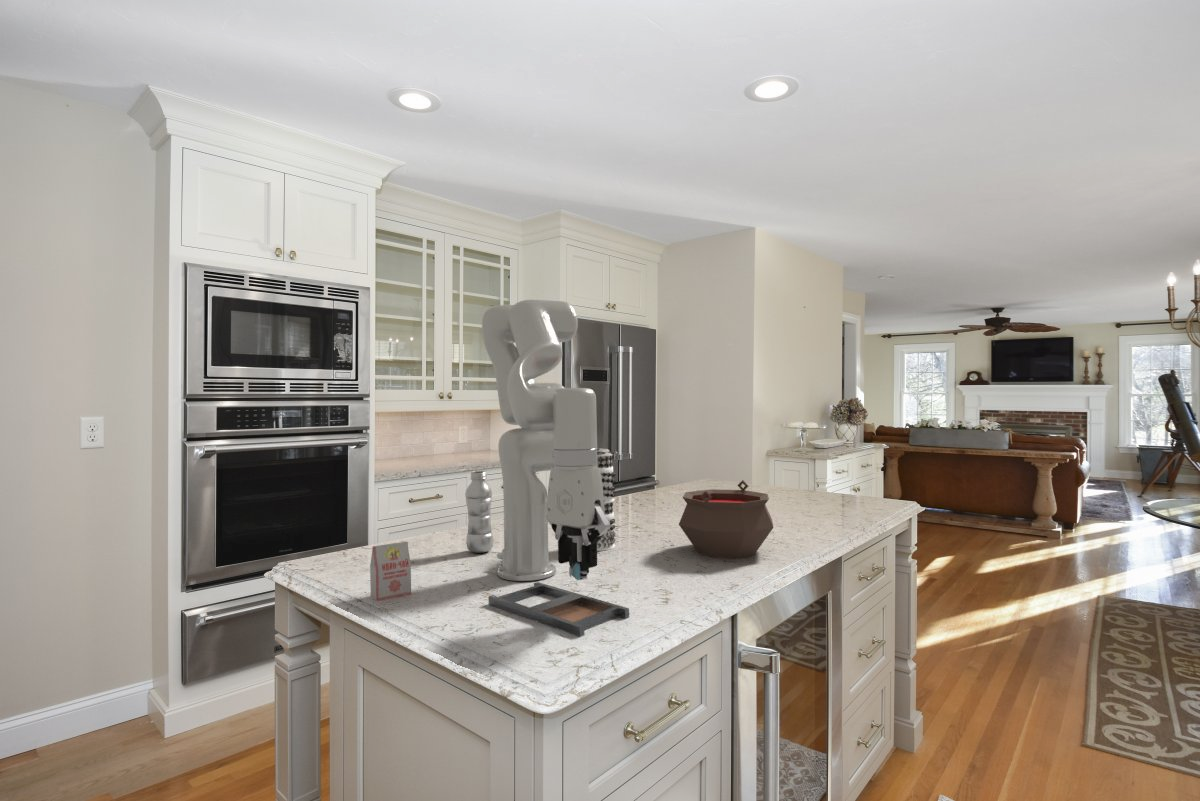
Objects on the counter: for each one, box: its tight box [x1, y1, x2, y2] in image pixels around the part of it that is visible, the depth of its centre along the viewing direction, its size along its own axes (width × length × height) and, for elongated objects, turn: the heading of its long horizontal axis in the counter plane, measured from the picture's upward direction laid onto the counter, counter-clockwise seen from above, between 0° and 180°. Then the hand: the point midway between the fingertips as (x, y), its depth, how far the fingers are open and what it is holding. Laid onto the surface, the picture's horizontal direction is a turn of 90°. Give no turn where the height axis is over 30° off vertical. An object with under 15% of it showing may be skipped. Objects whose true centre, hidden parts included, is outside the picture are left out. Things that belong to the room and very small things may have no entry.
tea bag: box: [369, 541, 412, 602], centre depth 124 cm, size 4×7×10 cm, turn 126°
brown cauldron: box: [678, 479, 774, 559], centre depth 155 cm, size 24×24×16 cm
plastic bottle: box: [464, 470, 495, 554], centre depth 157 cm, size 6×7×20 cm
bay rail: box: [487, 581, 630, 638], centre depth 113 cm, size 24×12×2 cm, turn 47°
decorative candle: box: [583, 447, 617, 552], centre depth 161 cm, size 9×9×25 cm
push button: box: [562, 526, 591, 581], centre depth 109 cm, size 7×5×10 cm
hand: (577, 563), depth 109 cm, fingers closed on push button, 5 cm apart
